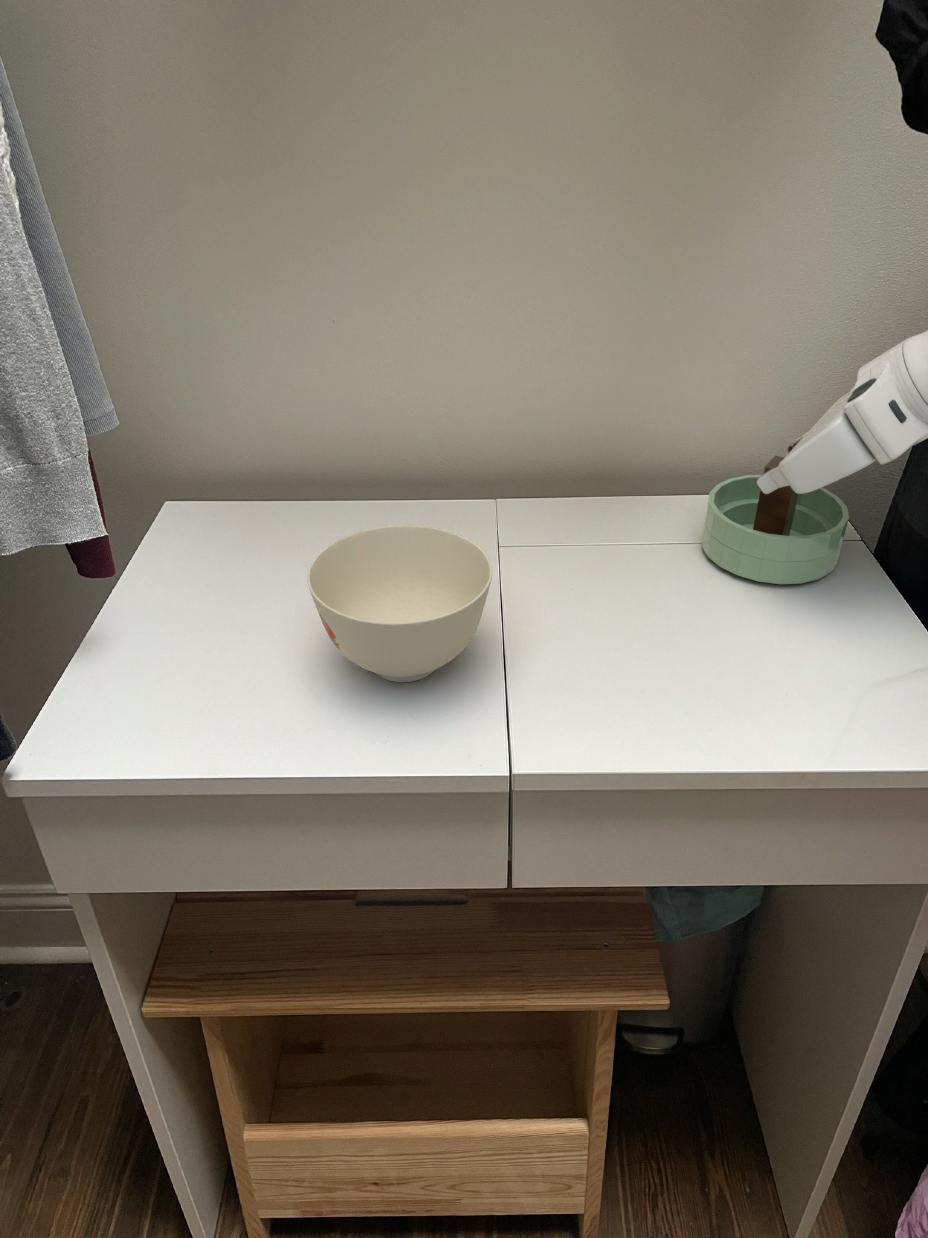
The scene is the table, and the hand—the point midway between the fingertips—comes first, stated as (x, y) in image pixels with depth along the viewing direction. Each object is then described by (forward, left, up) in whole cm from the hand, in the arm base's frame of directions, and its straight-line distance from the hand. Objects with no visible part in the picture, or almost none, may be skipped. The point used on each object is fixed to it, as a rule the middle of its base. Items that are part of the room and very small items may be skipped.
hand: (777, 468), depth 98 cm
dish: (0, -1, -10) cm, 10 cm away
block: (0, -1, -10) cm, 10 cm away
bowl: (-4, +42, -10) cm, 44 cm away
